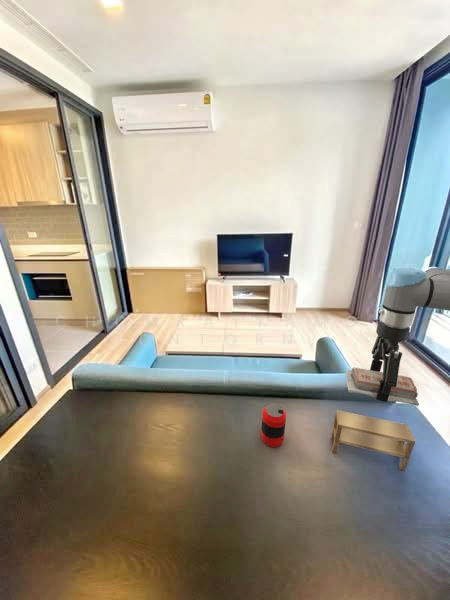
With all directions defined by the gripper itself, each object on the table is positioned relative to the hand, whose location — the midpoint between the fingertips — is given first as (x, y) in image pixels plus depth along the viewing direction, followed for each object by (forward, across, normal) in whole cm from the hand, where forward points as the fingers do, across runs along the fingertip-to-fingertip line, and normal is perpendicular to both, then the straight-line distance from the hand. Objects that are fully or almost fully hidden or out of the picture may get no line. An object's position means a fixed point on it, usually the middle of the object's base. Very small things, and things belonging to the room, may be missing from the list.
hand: (377, 388), depth 77 cm
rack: (+21, +6, -1) cm, 22 cm away
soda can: (+21, +10, -30) cm, 38 cm away
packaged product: (0, 0, 0) cm, 1 cm away
